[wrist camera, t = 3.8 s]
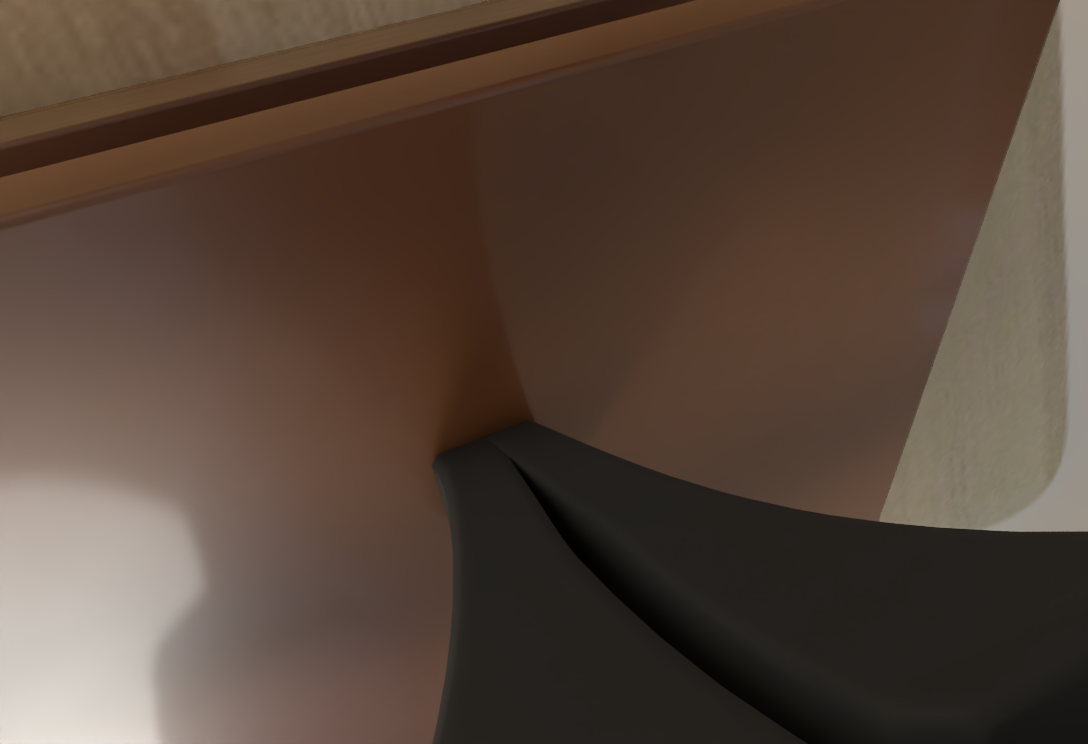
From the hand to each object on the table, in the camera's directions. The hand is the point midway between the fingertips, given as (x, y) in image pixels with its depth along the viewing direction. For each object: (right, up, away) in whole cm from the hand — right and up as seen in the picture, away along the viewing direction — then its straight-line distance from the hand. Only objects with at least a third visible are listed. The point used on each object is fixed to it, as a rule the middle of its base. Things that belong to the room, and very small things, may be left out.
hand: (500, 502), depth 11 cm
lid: (0, 0, +2) cm, 2 cm away
